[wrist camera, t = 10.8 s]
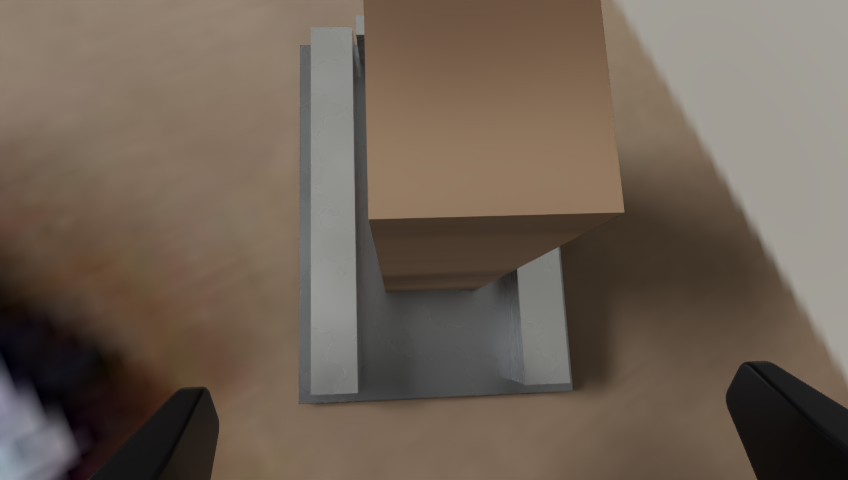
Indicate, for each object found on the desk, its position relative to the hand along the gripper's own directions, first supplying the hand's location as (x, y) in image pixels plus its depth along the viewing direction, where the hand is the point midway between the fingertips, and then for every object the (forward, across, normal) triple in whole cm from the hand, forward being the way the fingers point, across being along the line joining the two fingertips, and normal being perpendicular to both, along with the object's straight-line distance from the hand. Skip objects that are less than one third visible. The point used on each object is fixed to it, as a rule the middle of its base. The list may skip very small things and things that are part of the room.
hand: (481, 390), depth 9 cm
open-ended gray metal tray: (+12, 0, +4) cm, 12 cm away
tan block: (+11, 0, +3) cm, 12 cm away
